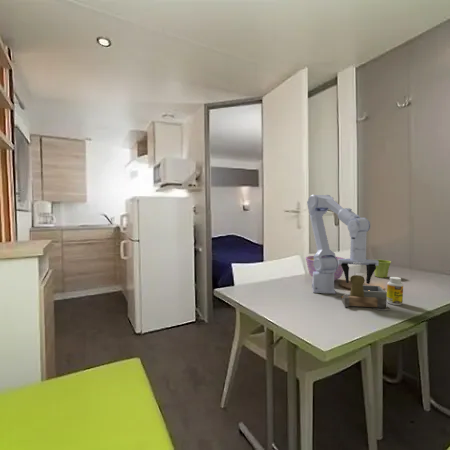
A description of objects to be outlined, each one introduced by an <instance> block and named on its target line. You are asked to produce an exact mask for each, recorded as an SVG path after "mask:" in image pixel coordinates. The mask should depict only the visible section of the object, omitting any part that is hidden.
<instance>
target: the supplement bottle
mask: <svg viewBox="0 0 450 450" xmlns="http://www.w3.org/2000/svg"><path fill="white" fill-rule="evenodd" d="M386 284H387V285H386V292H387V302H386V303H388V304H389V305H394V306H402V305H403V297H404V284H403V282H402V278H401V277H398V276H390V277H389V281H388V282H387V283H386Z"/></svg>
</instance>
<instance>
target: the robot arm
mask: <svg viewBox="0 0 450 450" xmlns="http://www.w3.org/2000/svg"><path fill="white" fill-rule="evenodd" d="M306 205H307V208H308V214H309V217H310V218H309V220H310V223H311V228H312V233H313V236H314V241H315V246H316V253H315V254H314V255H312V256H313V257H314V268H315V270H316V272H313V277H312V284H311V288H312V291H313V293H314V294H315V293H317V294H320V293H321V294H332V295H336V294H337V293H336V290H335V280H334V272H336V270H337V268H338V266H339V264H341V266H342V269H343V274H344V277H345V283H346V284H348V283H349V282H350V280H349V278H350V277H349V275H350V274H349V273H350V272H349V271H350V267H349V265H356V266H357V265H359V266H360V265H362V266H366V267H365V268H366V278H365V279H366V280H365V282H366V284H367V285H370V283H371V279H372V276H373V274H374V271H375V269H376V266H378V262H379V261H378V260H379V259H370V258H369V259H367V233H368V232H369V231H370V229H371V222H370V220H369V219H368V218H367V217H360V214H358V213H355V212H353V210H352V208H350V207H344V208H343V207H342V205H340V204H339V203H338V202H337V201H336V200H335V198H334V197H333V196H331V195H330V194H311V195H309V197H308V200H307V201H306ZM328 211H331V212H333V213H334V214H336V215H337V218H338V220H339V221H340V222H342V223H343V224H344V225H345V226H347V230H348V231H349V238H350V247H349V248H350V255H349V256H350V257H349V258H344V259H338V260H337V258H336V257H337V256H336V253H335V252H334V251H332V250H331V249H330V245H329V239H328V237H327V231H326V227H325V223H324V219H323V217H324V215H325V214H326V213H327V212H328ZM321 257H323V258H321Z"/></svg>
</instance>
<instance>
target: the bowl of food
mask: <svg viewBox="0 0 450 450" xmlns="http://www.w3.org/2000/svg"><path fill="white" fill-rule="evenodd" d="M313 256H314V255H309V256H306V257H305V262H306V266H307V270H308V273H309V275H310V276H311V277H312V278H313V272H316V270H315V268H314V257H313ZM321 258H323V257H321ZM336 258H337V260H338V259H345V257H340V256H336ZM343 274H344V271H343V269H342V266H341V264H339V266H338V268H337V270H336V272H334V281H336V280H338V279H340V278H341V277H342V275H343Z"/></svg>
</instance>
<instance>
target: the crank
mask: <svg viewBox="0 0 450 450" xmlns="http://www.w3.org/2000/svg"><path fill="white" fill-rule="evenodd" d="M342 296H343V298H342V304H343V306H344V307H345V308H347V307H364V308H365V307H367V308H368V307H369V308H372V307H377V308H381V309H385V308H386V307H387V303H388V302H387V299H386V298H384V297H359V296H350V295H348V294H342Z"/></svg>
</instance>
